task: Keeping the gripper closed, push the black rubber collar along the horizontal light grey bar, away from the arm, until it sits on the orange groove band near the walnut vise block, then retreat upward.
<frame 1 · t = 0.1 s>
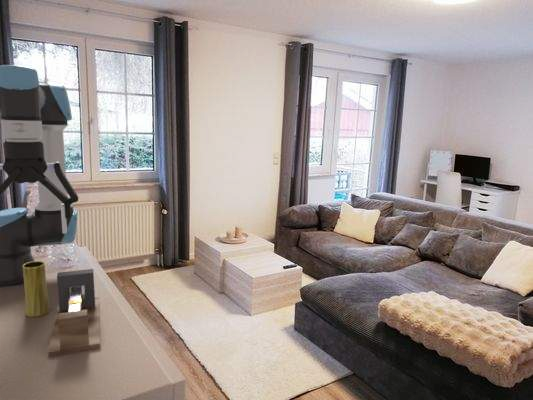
hand: (31, 234, 91), 28 cm above the sideboard, fingers open, 13 cm apart
collar: (76, 289, 111), point 7 cm above the sideboard, slide at 0.0 cm
light grey bar: (75, 301, 105), point 6 cm above the sideboard
bench: (77, 324, 106), on the sideboard
vase: (37, 312, 112), on the sideboard
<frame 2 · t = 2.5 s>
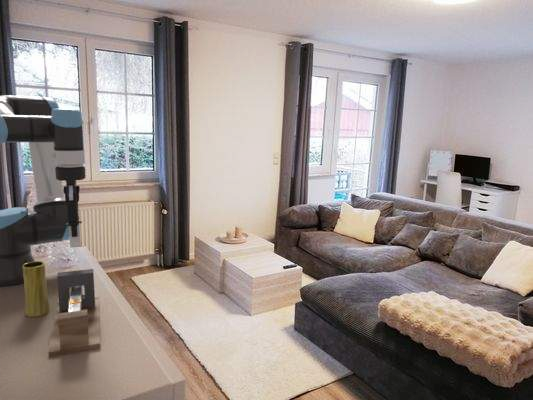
hand: (75, 246, 115), 17 cm above the sideboard, fingers closed
nothing on the sideboard moved.
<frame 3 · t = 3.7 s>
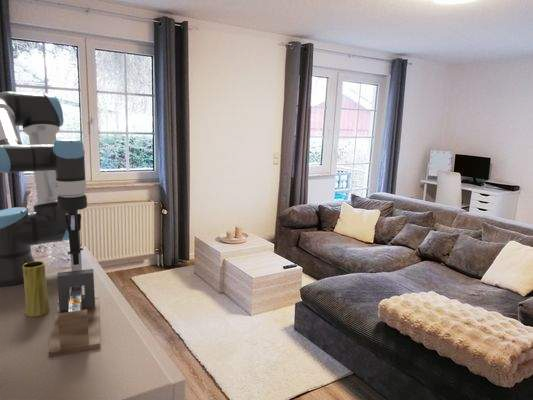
hand: (77, 273, 116), 9 cm above the sideboard, fingers closed
nothing on the sideboard moved.
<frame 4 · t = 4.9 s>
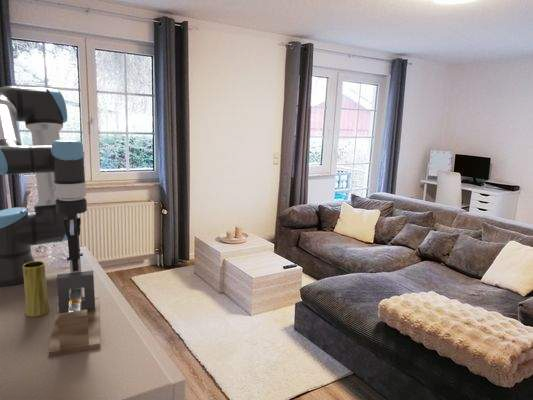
hand: (76, 280, 111), 9 cm above the sideboard, fingers closed
collar: (76, 291, 110), point 7 cm above the sideboard, slide at 1.4 cm, touching gripper
everything else where it was.
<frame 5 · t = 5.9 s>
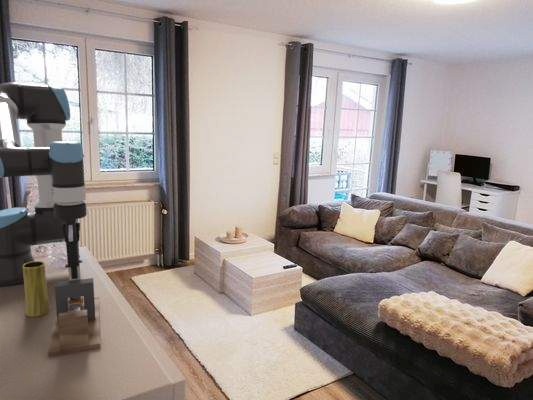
hand: (75, 288, 106), 9 cm above the sideboard, fingers closed
collar: (75, 300, 105), point 7 cm above the sideboard, slide at 7.1 cm, touching gripper
everything else where it was.
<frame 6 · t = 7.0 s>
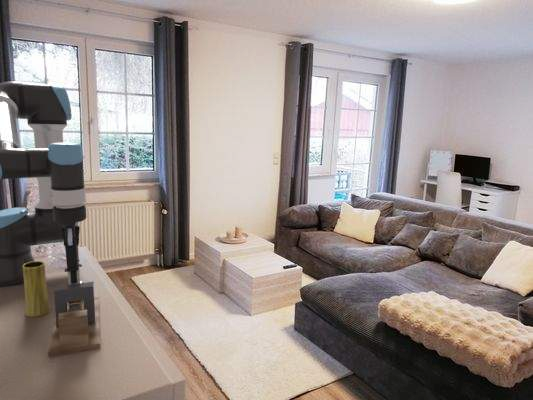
hand: (75, 292, 104), 9 cm above the sideboard, fingers closed
collar: (75, 304, 102), point 7 cm above the sideboard, slide at 9.7 cm, touching gripper
everything else where it was.
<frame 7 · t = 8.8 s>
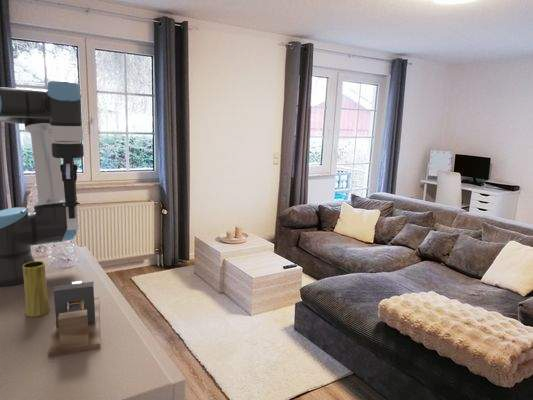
hand: (73, 228, 109), 24 cm above the sideboard, fingers closed
collar: (75, 304, 102), point 7 cm above the sideboard, slide at 9.7 cm
everything else where it was.
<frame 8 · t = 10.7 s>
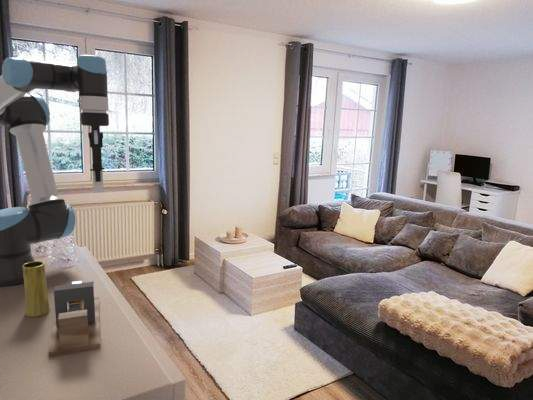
hand: (98, 191, 120), 32 cm above the sideboard, fingers closed
nothing on the sideboard moved.
at the end: collar slide at 9.7 cm; collar touching nothing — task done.
